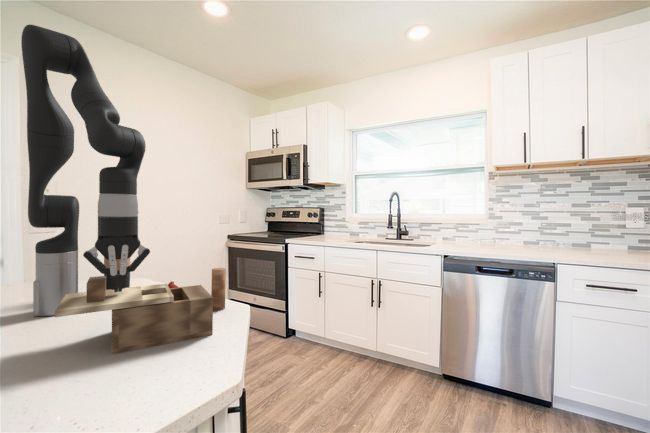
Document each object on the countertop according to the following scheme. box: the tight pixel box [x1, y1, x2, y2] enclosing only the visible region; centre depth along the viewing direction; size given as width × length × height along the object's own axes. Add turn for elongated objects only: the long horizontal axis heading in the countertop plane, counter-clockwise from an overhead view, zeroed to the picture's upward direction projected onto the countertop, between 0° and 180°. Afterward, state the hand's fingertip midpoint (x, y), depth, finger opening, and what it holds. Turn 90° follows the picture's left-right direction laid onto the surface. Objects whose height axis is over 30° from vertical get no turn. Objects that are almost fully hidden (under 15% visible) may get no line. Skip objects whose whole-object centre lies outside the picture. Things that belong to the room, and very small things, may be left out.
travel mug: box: [103, 256, 131, 290], centre depth 108 cm, size 8×8×20 cm
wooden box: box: [111, 284, 214, 355], centre depth 75 cm, size 20×14×9 cm
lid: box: [54, 275, 174, 318], centre depth 70 cm, size 20×14×5 cm, turn 123°
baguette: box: [210, 267, 227, 312], centre depth 93 cm, size 4×4×12 cm
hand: (118, 291), depth 70 cm, fingers closed
